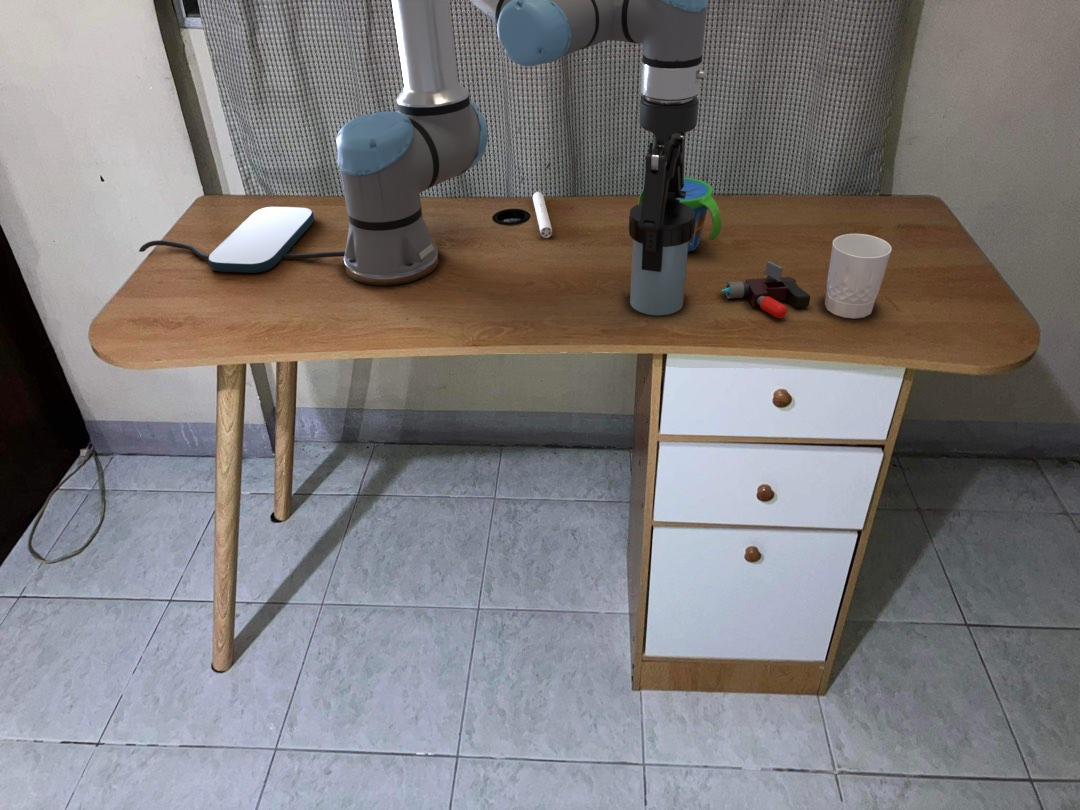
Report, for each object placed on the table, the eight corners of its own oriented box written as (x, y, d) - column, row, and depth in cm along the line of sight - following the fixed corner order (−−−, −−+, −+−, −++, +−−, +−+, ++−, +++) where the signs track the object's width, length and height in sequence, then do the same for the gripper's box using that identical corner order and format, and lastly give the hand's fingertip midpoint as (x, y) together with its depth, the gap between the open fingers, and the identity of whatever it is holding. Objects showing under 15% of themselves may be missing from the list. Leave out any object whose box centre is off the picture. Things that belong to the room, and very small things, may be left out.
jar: (627, 313, 123) (631, 227, 115) (632, 288, 129) (636, 205, 121) (682, 317, 121) (689, 230, 113) (684, 291, 128) (691, 207, 120)
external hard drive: (269, 276, 135) (266, 265, 134) (203, 273, 137) (199, 262, 136) (320, 217, 154) (318, 207, 153) (261, 215, 156) (259, 205, 155)
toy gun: (717, 292, 127) (720, 263, 124) (793, 287, 128) (798, 259, 125) (734, 324, 119) (738, 295, 116) (815, 319, 120) (821, 289, 117)
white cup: (814, 295, 126) (826, 233, 120) (867, 294, 125) (882, 233, 120) (827, 321, 119) (840, 258, 113) (883, 321, 119) (899, 257, 113)
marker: (531, 198, 159) (531, 187, 158) (542, 198, 159) (542, 186, 158) (540, 238, 145) (540, 225, 143) (552, 237, 145) (552, 225, 143)
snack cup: (621, 240, 143) (623, 183, 137) (664, 223, 148) (667, 167, 142) (688, 271, 133) (694, 211, 127) (732, 251, 138) (739, 193, 132)
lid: (631, 247, 115) (632, 226, 113) (626, 220, 122) (627, 200, 121) (697, 246, 115) (699, 225, 113) (688, 219, 122) (690, 199, 120)
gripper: (680, 124, 98) (668, 293, 111) (714, 76, 115) (700, 228, 128) (619, 118, 100) (614, 285, 113) (661, 72, 117) (652, 222, 130)
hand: (659, 254), depth 121 cm, fingers closed on lid, 9 cm apart
